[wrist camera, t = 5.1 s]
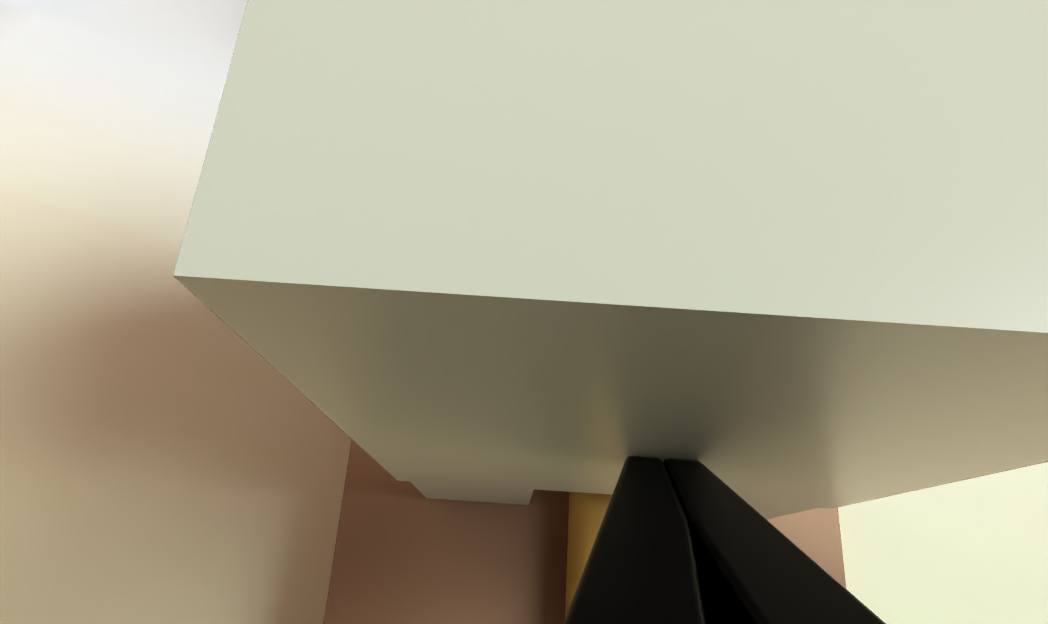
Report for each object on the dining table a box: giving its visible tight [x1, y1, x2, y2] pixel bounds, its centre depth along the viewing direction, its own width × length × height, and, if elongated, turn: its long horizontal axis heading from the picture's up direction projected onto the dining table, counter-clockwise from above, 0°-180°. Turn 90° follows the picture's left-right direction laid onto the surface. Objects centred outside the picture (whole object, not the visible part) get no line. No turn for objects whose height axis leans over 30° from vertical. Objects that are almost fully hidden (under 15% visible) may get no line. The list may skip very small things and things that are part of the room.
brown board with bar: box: [324, 439, 846, 624], centre depth 14 cm, size 22×10×6 cm, turn 177°
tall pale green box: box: [173, 0, 1048, 519], centre depth 10 cm, size 6×7×10 cm
